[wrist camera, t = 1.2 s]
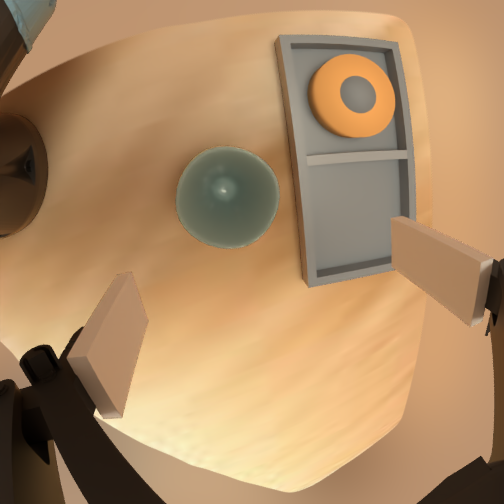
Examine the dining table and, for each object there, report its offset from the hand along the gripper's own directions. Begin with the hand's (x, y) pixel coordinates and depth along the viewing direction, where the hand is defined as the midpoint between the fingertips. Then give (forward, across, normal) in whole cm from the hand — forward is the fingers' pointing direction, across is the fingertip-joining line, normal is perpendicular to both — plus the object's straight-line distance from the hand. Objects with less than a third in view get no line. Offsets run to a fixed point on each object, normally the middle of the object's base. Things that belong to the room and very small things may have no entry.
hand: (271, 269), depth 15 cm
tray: (+19, +13, +3) cm, 23 cm away
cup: (+19, -1, +2) cm, 19 cm away
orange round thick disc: (+18, +14, +10) cm, 25 cm away
